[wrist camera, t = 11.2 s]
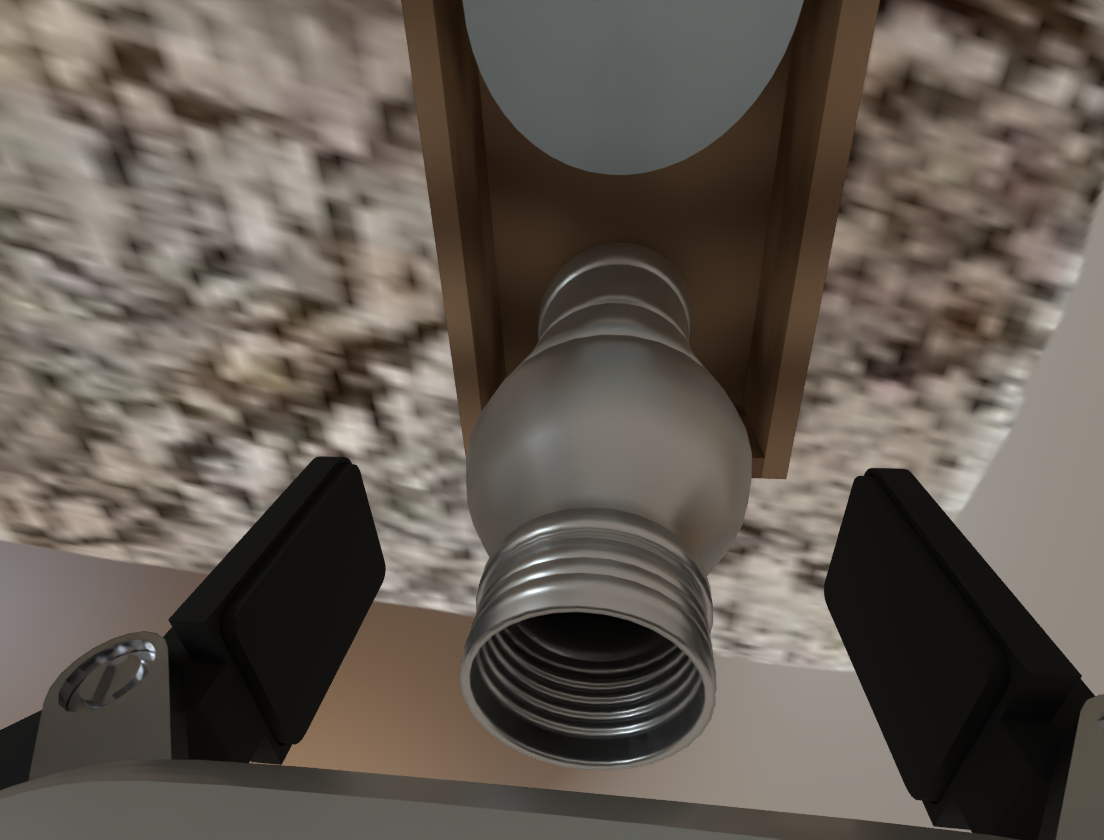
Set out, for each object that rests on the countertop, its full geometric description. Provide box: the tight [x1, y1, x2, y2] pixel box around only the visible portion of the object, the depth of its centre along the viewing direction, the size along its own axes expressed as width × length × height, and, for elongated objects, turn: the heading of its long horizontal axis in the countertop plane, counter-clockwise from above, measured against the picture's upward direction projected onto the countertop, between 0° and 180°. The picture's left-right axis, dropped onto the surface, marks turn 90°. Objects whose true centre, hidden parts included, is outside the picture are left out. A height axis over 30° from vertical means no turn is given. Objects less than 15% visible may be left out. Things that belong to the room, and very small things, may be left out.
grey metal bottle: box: [460, 242, 752, 770], centre depth 16 cm, size 6×7×20 cm
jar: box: [462, 0, 804, 175], centre depth 16 cm, size 7×7×10 cm
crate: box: [401, 0, 880, 479], centre depth 21 cm, size 22×14×6 cm, turn 3°
